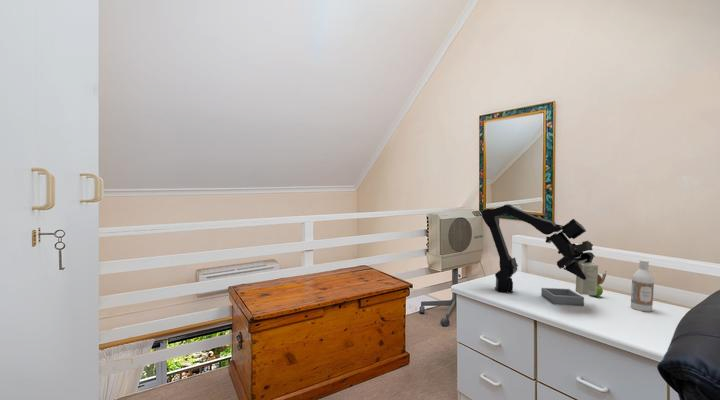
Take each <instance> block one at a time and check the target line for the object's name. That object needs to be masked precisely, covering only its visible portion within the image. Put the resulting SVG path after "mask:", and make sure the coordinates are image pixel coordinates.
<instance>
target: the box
mask: <svg viewBox="0 0 720 400" xmlns="http://www.w3.org/2000/svg"><path fill="white" fill-rule="evenodd" d="M540 293H541V295H540V296H542V297H543V298H544V299H545V300H547V301H548V302H550V303H551V304H552V305H555V306H578V307H579V306H580V307H581V306H582V307H583V306H585V297H584V296H582V295H581V294H579V293H577V292H576V291H574V290H572V289H571V288H557V287H555V288H554V287H552V288H551V287H541V292H540Z"/></svg>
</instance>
